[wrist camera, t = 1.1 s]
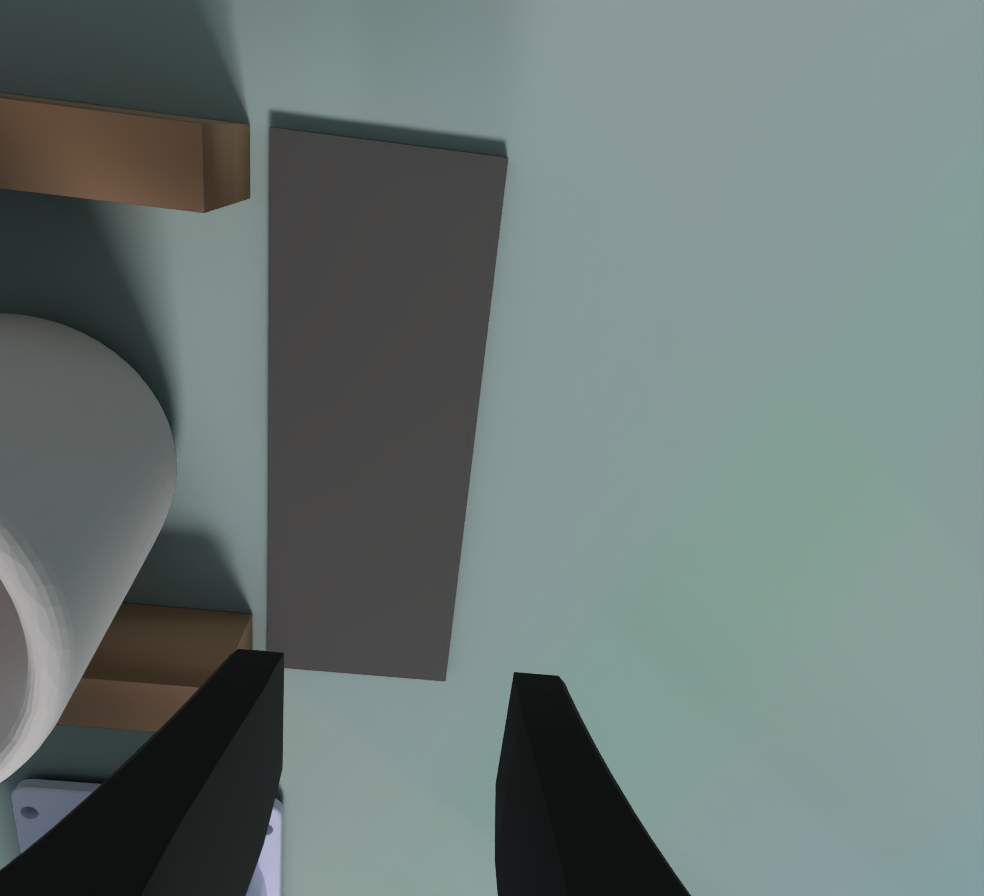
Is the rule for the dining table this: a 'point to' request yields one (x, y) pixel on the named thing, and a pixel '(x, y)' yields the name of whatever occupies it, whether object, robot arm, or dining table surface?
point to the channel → (157, 183)
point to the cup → (68, 513)
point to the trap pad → (373, 394)
